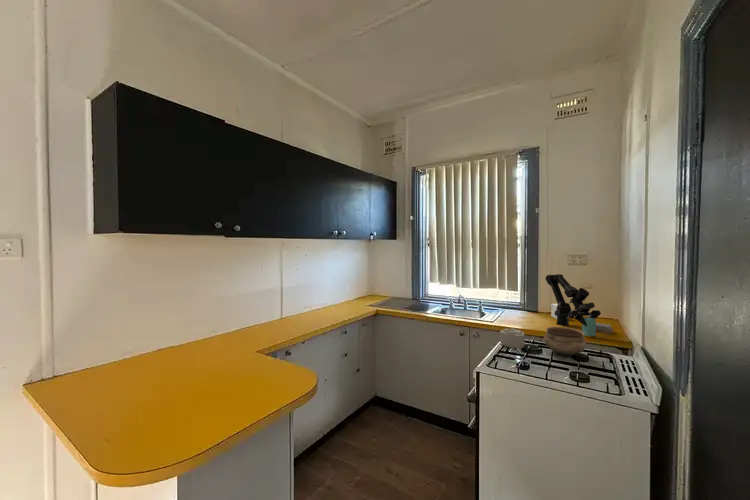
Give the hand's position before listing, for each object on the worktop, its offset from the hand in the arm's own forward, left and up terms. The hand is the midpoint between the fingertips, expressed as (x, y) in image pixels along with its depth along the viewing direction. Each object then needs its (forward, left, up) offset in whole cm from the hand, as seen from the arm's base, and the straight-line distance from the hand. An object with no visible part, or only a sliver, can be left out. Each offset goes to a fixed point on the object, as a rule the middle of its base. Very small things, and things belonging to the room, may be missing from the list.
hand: (590, 325), depth 196 cm
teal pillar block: (-1, +1, -7) cm, 7 cm away
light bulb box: (-33, +35, -7) cm, 49 cm away
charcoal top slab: (+1, +18, -5) cm, 19 cm away
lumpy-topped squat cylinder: (-22, -55, -7) cm, 59 cm away
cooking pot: (+4, -47, -7) cm, 48 cm away
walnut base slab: (+1, +18, -7) cm, 19 cm away
